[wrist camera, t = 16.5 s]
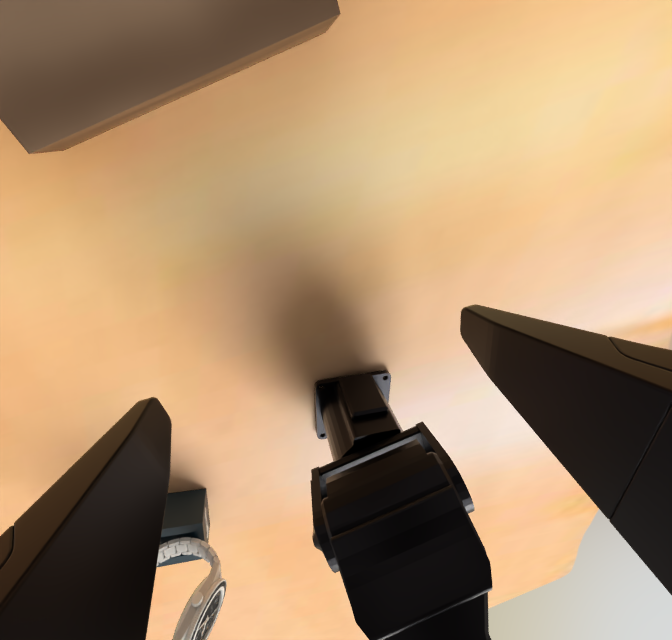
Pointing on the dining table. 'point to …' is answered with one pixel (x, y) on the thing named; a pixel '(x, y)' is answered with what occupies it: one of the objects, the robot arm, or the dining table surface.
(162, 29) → the walnut block
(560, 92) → the dining table surface
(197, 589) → the watch
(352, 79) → the dining table surface
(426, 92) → the dining table surface
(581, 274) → the dining table surface
